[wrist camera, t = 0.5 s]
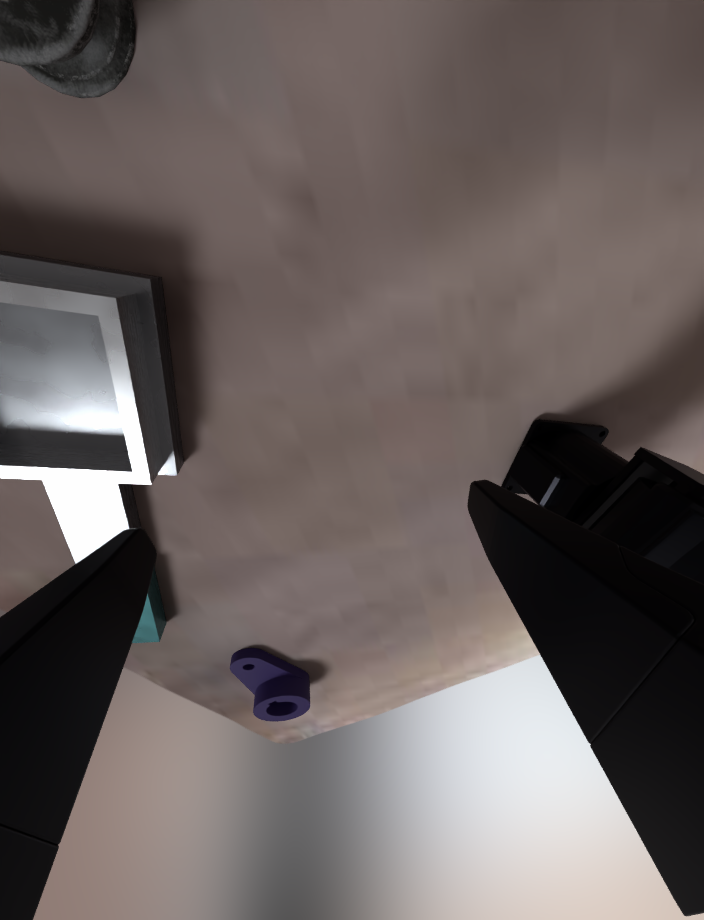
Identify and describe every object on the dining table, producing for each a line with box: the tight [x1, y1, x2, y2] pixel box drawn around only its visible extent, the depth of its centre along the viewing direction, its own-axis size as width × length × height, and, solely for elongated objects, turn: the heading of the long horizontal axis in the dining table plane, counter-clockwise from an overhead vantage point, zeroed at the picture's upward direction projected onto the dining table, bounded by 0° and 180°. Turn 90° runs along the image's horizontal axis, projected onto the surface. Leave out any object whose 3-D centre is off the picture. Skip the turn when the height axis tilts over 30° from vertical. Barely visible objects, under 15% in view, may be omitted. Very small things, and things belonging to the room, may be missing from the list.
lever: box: [230, 648, 310, 721], centre depth 36 cm, size 12×6×3 cm, turn 25°
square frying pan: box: [0, 251, 184, 643], centre depth 21 cm, size 11×29×4 cm, turn 171°
